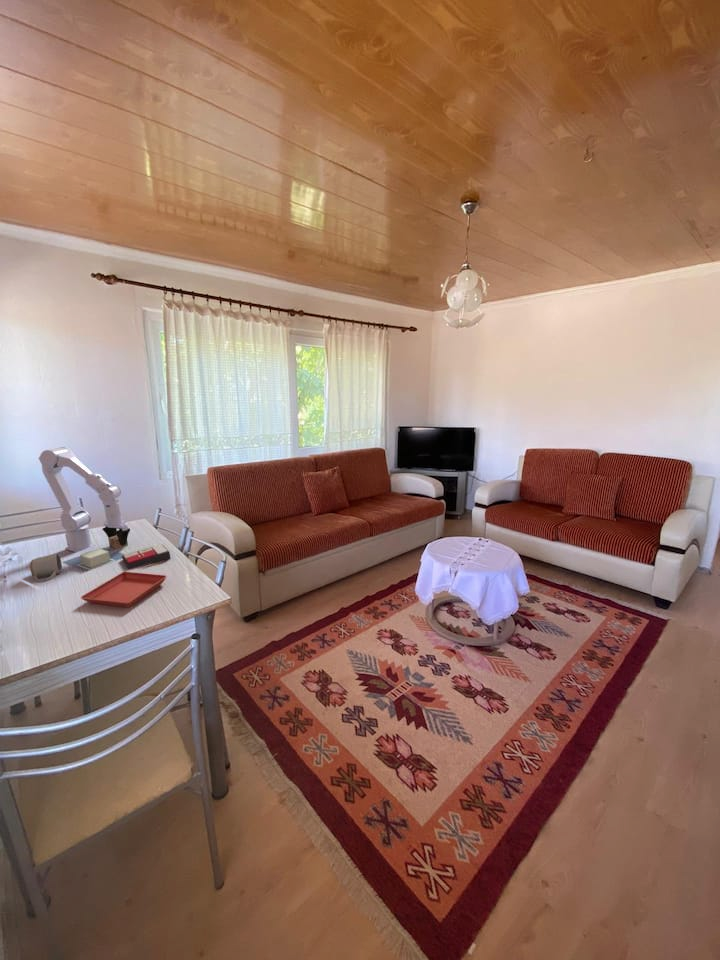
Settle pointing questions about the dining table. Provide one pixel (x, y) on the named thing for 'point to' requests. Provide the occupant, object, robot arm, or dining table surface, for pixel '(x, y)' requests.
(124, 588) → the plant saucer
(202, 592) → the dining table surface
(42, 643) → the dining table surface
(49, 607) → the dining table surface
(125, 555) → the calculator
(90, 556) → the sage base block
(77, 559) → the board
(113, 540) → the walnut block
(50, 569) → the ceramic mug
